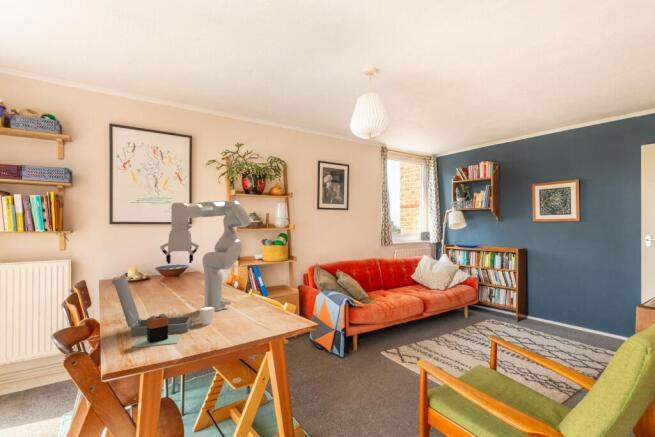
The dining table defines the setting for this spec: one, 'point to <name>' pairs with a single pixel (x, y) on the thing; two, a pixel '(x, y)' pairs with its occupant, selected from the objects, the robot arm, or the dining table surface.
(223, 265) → the robot arm
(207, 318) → the shot glass
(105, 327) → the dining table surface
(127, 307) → the case lid
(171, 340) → the rubber mat
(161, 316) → the battery
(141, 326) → the case
